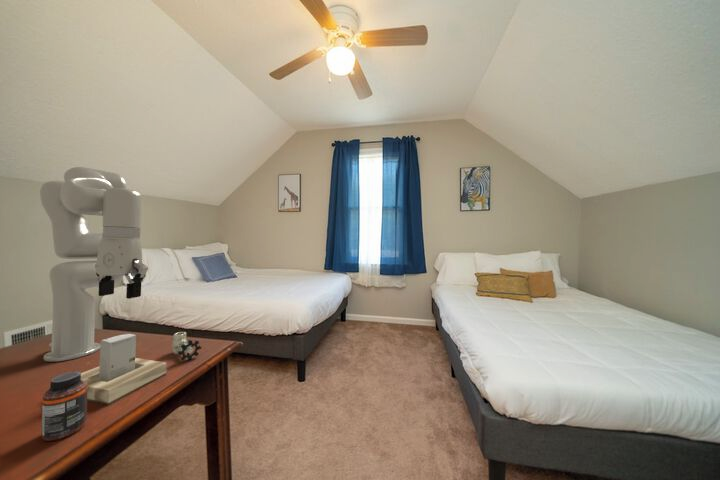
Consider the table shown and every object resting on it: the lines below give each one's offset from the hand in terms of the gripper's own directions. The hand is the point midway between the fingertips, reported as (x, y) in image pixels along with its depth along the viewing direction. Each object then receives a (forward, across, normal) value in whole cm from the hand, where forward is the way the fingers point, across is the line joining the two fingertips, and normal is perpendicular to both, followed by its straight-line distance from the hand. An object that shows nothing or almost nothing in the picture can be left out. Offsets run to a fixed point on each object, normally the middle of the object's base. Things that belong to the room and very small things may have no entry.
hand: (119, 296), depth 67 cm
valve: (+24, +2, +18) cm, 31 cm away
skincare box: (+24, 0, 0) cm, 24 cm away
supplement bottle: (+24, +9, -15) cm, 30 cm away
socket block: (+24, 0, 0) cm, 24 cm away
